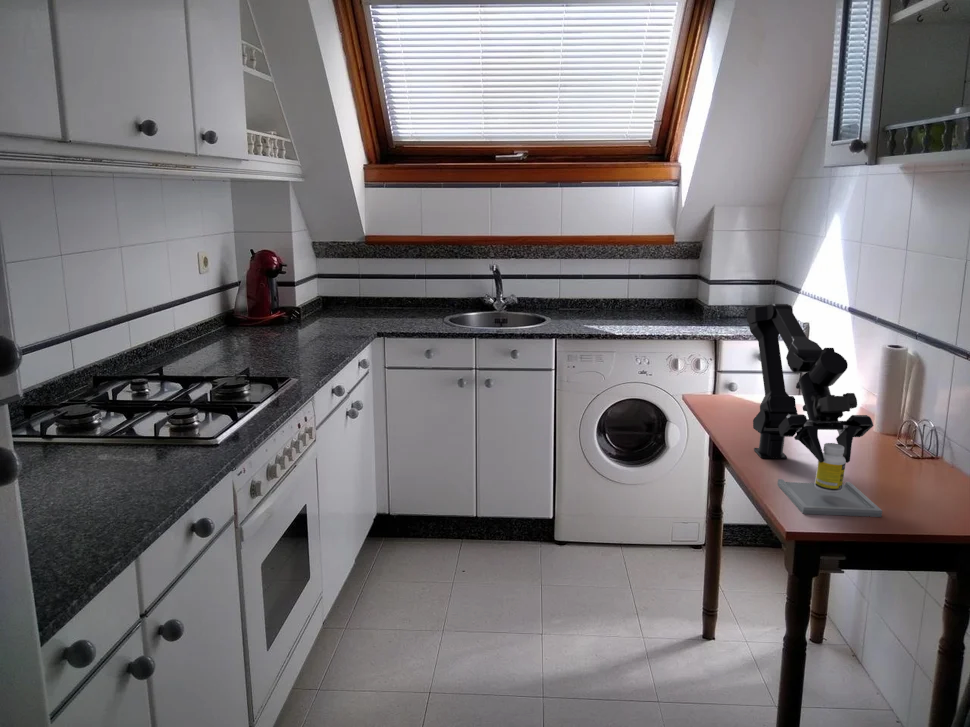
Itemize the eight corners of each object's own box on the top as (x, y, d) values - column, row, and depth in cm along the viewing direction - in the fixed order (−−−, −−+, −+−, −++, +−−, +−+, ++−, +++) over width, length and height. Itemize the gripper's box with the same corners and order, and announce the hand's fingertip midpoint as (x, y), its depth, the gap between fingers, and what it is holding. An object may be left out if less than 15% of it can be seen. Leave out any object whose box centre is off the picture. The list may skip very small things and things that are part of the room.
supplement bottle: (842, 495, 168) (849, 451, 165) (815, 491, 169) (821, 448, 167) (840, 486, 173) (846, 443, 170) (813, 482, 174) (819, 440, 172)
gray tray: (777, 484, 179) (778, 479, 179) (849, 487, 179) (849, 482, 179) (802, 513, 164) (803, 507, 163) (881, 517, 163) (882, 510, 163)
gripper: (790, 378, 169) (808, 445, 161) (875, 379, 170) (897, 445, 162) (771, 403, 178) (786, 467, 170) (851, 404, 180) (870, 468, 171)
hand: (835, 461), depth 168 cm, fingers closed on supplement bottle, 5 cm apart
